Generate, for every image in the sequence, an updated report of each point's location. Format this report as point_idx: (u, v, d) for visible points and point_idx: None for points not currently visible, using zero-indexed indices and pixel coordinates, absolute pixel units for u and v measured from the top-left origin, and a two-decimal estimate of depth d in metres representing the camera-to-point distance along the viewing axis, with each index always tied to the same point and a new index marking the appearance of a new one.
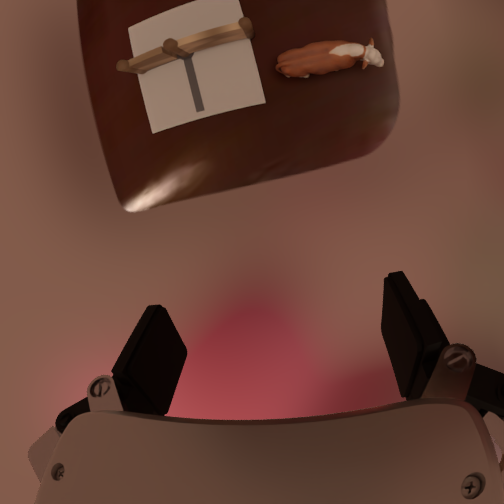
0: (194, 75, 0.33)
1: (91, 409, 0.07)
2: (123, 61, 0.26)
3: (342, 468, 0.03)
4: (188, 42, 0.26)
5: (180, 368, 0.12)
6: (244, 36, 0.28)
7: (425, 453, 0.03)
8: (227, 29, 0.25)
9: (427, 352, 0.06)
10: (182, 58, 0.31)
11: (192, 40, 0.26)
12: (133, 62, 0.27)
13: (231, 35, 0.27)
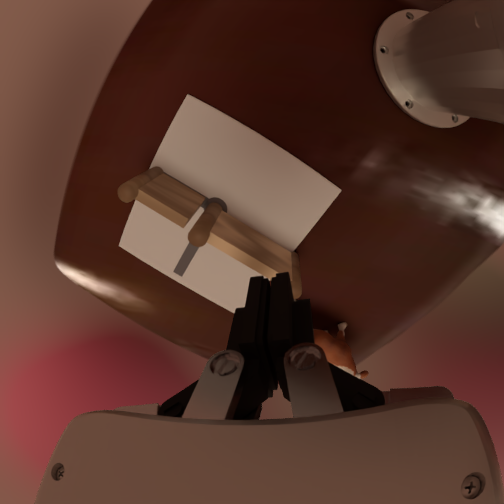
0: None
1: (199, 383, 0.07)
2: (131, 191, 0.21)
3: (342, 468, 0.03)
4: (220, 249, 0.23)
5: None
6: None
7: (425, 453, 0.03)
8: (271, 276, 0.24)
9: (278, 347, 0.08)
10: None
11: (226, 251, 0.23)
12: (143, 199, 0.22)
13: None
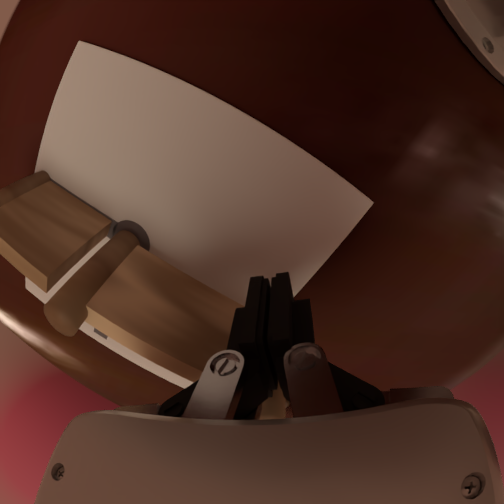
0: None
1: (199, 383, 0.07)
2: None
3: (343, 468, 0.03)
4: (113, 337, 0.10)
5: None
6: None
7: (425, 453, 0.03)
8: None
9: (278, 347, 0.08)
10: None
11: (125, 343, 0.10)
12: None
13: None
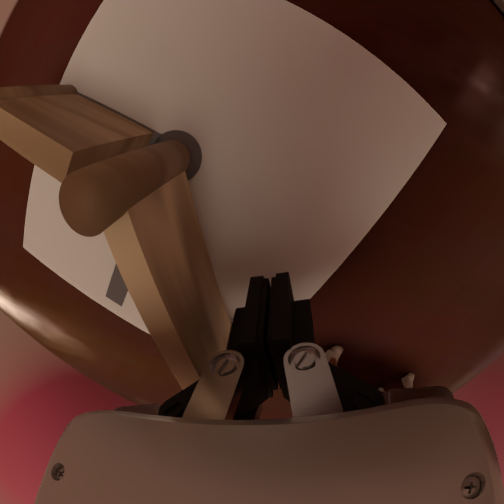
0: None
1: (199, 383, 0.07)
2: None
3: (343, 468, 0.03)
4: (119, 265, 0.07)
5: None
6: None
7: (425, 453, 0.03)
8: (183, 379, 0.09)
9: (278, 347, 0.08)
10: None
11: (129, 281, 0.07)
12: None
13: None
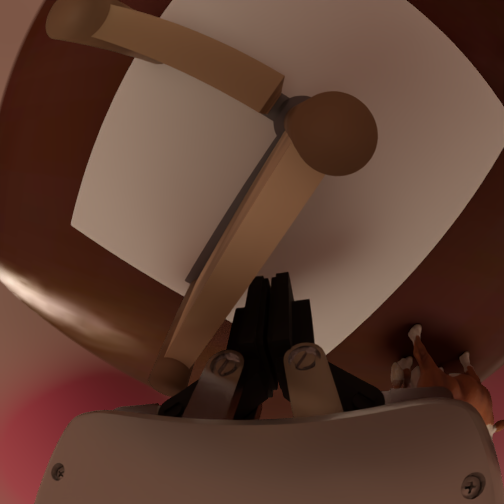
0: None
1: (199, 383, 0.07)
2: None
3: (342, 468, 0.03)
4: (260, 198, 0.06)
5: None
6: (192, 289, 0.13)
7: (425, 453, 0.03)
8: (187, 334, 0.09)
9: (278, 347, 0.08)
10: (279, 128, 0.10)
11: (252, 219, 0.07)
12: (118, 31, 0.04)
13: (194, 293, 0.10)
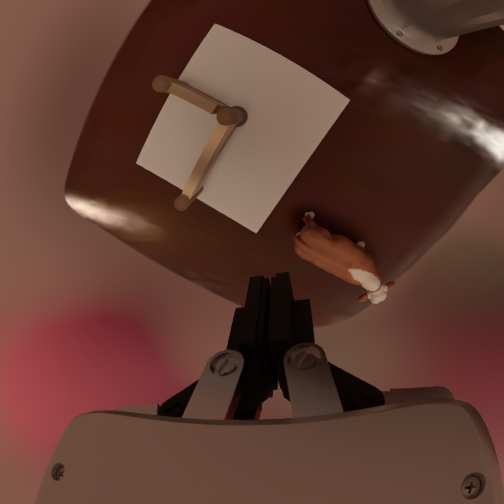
0: None
1: (199, 383, 0.07)
2: (165, 81, 0.20)
3: (342, 468, 0.03)
4: (212, 134, 0.23)
5: None
6: None
7: (425, 453, 0.03)
8: (190, 181, 0.26)
9: (278, 347, 0.08)
10: None
11: (210, 140, 0.24)
12: (174, 91, 0.22)
13: None
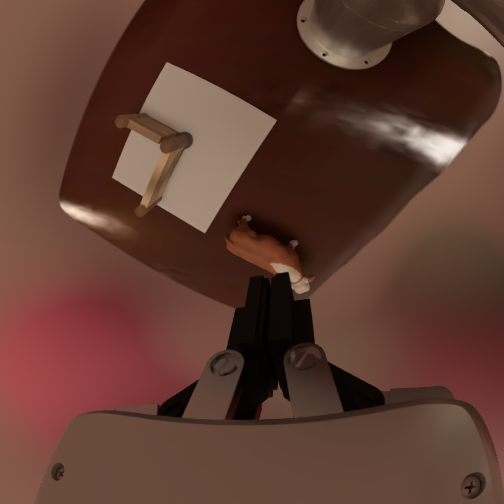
0: None
1: (199, 383, 0.07)
2: (124, 120, 0.28)
3: (343, 468, 0.03)
4: (159, 159, 0.31)
5: None
6: None
7: (425, 453, 0.03)
8: (146, 194, 0.33)
9: (278, 347, 0.08)
10: None
11: (158, 163, 0.31)
12: (132, 126, 0.29)
13: None
